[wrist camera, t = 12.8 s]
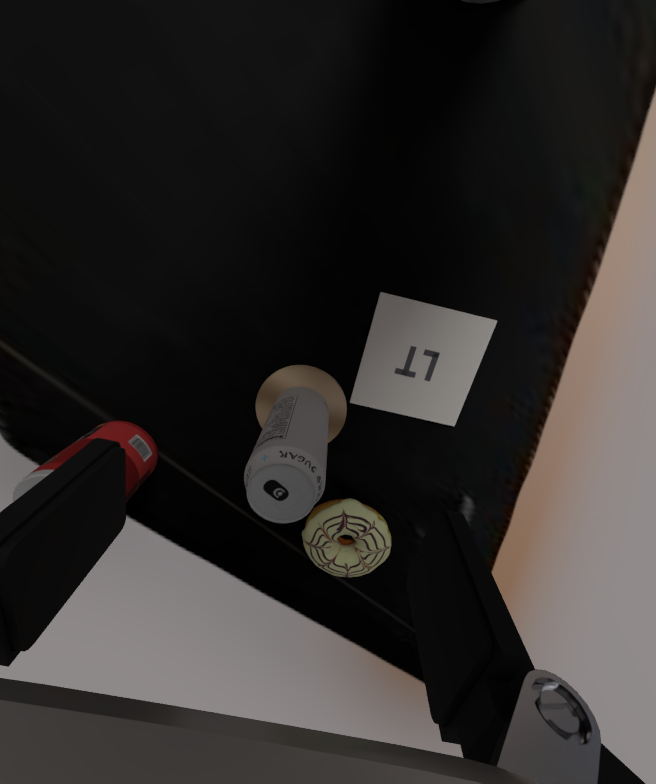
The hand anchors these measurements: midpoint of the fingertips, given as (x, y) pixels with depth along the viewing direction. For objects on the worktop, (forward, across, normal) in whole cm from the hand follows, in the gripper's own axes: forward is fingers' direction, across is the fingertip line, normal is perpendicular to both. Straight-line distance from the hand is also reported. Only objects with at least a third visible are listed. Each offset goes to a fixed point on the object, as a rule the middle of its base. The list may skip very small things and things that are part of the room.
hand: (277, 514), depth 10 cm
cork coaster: (+27, 0, +10) cm, 28 cm away
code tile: (+27, -11, +2) cm, 29 cm away
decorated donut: (+27, -8, +25) cm, 37 cm away
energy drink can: (+26, 0, +10) cm, 28 cm away
